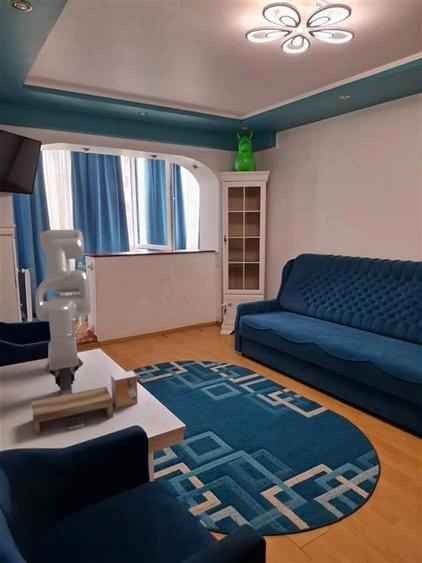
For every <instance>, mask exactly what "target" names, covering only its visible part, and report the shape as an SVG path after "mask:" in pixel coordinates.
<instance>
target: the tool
mask: <svg viewBox="0 0 422 563" xmlns="http://www.w3.org/2000/svg"><path fill="white" fill-rule="evenodd" d="M58 374H59V379H60V387H59V392H60V395H61V396H62V395H67V394H72V393H73V386H72V385H73V384H71V371H70V367H66V368H60V369H59V371H58ZM75 415H77V414H73V415H69V416H68V417H71V416H75Z"/></svg>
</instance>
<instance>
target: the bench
mask: <svg viewBox="0 0 422 563" xmlns="http://www.w3.org/2000/svg"><path fill="white" fill-rule="evenodd" d="M113 405H114V404H113V402H112V395H111V394H110V391H109V390H108V387H107V386H104V387H103V386H102V387H98V388H93V389H88V390H82V391H76V392H72V394H67V395H62V394H61V395H57V396H52V397H46V398H43V399H42V398H41V399H38V400H32V401H31V410H32V420H33V421H32V422H33V432H34V436H38V435H41V431H40V430H41V429H40V422H45V421H49V420H50V421H51V420H54V419H59V418H63V417H70V416H69V415H71V416H74V415H73V414H76V415H78V414H81V413H87V412H90V411H97V410H100V409H104V411H105V413H106V415H107V417H108V418H109V419H110V418H114V410H113V409H114V408H113V407H114V406H113Z"/></svg>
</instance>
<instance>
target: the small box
mask: <svg viewBox="0 0 422 563" xmlns="http://www.w3.org/2000/svg"><path fill="white" fill-rule="evenodd" d="M137 377H138V376H137V375H136V374H135V372H134V371H133V370H129V371H124V372H120V373H114V374H113V373H112V374H110V378H111V379H110V380H111V381H110V383H111V384H110V385H111V398H112V405H114V407H115V408H116V409H117V408H122V407H126V406H131V405H132V406H133V405H136V404H138V378H137Z"/></svg>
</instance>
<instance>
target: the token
mask: <svg viewBox="0 0 422 563" xmlns="http://www.w3.org/2000/svg"><path fill="white" fill-rule="evenodd" d="M65 422H66V428H67V432H68V431H73V430H77V429H82V428H85V423H84V419H83V415H81V416H77V417H73V418H68V419H65Z"/></svg>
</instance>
